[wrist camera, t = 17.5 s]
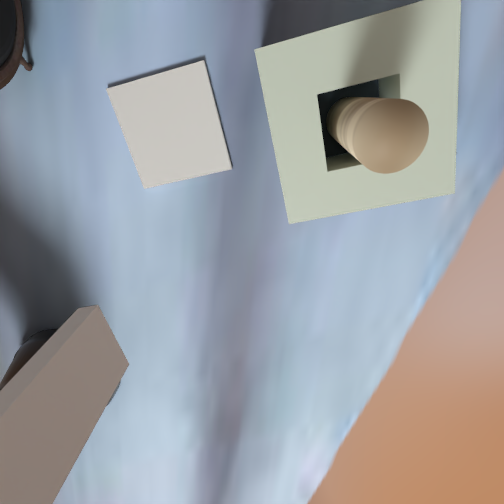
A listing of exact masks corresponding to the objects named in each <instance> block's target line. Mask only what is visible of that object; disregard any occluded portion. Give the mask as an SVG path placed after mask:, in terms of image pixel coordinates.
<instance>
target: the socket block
mask: <svg viewBox="0 0 504 504" xmlns="http://www.w3.org/2000/svg"><path fill="white" fill-rule="evenodd" d="M460 15H461V0H423V1H419V2H416V3H412V4H409V5H405V6H402V7H399V8H395V9H392V10H388V11H385V12H381V13H378V14H375V15H371V16H368V17H364V18H361V19H357V20H354V21H351V22H347V23H344V24H340V25H337V26H333V27H330V28H327V29H323V30H320V31H316V32H313V33H309V34H306V35H303V36H299V37H296V38H292V39H289V40H285V41H282V42H279V43H275V44H272V45H268V46H265V47H261V48H258V49H255V55H256V60H257V65H258V70H259V75H260V80H261V85H262V90H263V95H264V100H265V105H266V110H267V115H268V120H269V125H270V131H271V136H272V141H273V146H274V151H275V156H276V161H277V166H278V171H279V176H280V181H281V186H282V191H283V196H284V201H285V206H286V211H287V216H288V221H289V224H292V223H298V222H303V221H308V220H314V219H319V218H325V217H330V216H335V215H341V214H346V213H352V212H357V211H362V210H368V209H373V208H378V207H384V206H389V205H395V204H400V203H405V202H411V201H416V200H421V199H427V198H432V197H438V196H443V195H448V194H454V193H455V169H456V138H457V108H458V77H459V46H460ZM376 79H378V83H379V98H395V99H405V100H409V101H411V102H414V103H415V104H417V105H418V106H419V107H420V108H421V109H422V110H423V111H424V113H425V115H426V117H427V120H428V124H429V135H428V140H427V143H426V146H425V148H424V150H423V152H422V153H421V155H420V156H419V157H418V158H417V159H416V160H415V161H414V162H413V163H412V164H411V165H410V166H408V167H407V168H405V169H403V170H401V171H398V172H395V173H389V174H382V173H376V172H373V171H371V170H369V169H367V168H366V167H365V166H364V165H363V164H361V163H360V162H359V161H358V160H357V159H356V158H355V157H354V156H353V155H351V154H350V153H345V154H340V155H336V156H331V157H327V158H326V157H325V150H324V142H323V135H322V128H321V120H320V113H319V105H318V98H317V94H321V93H325V92H329V91H333V90H337V89H340V88H344V87H348V86H352V85H356V84H360V83H364V82H368V81H372V80H376Z"/></svg>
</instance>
